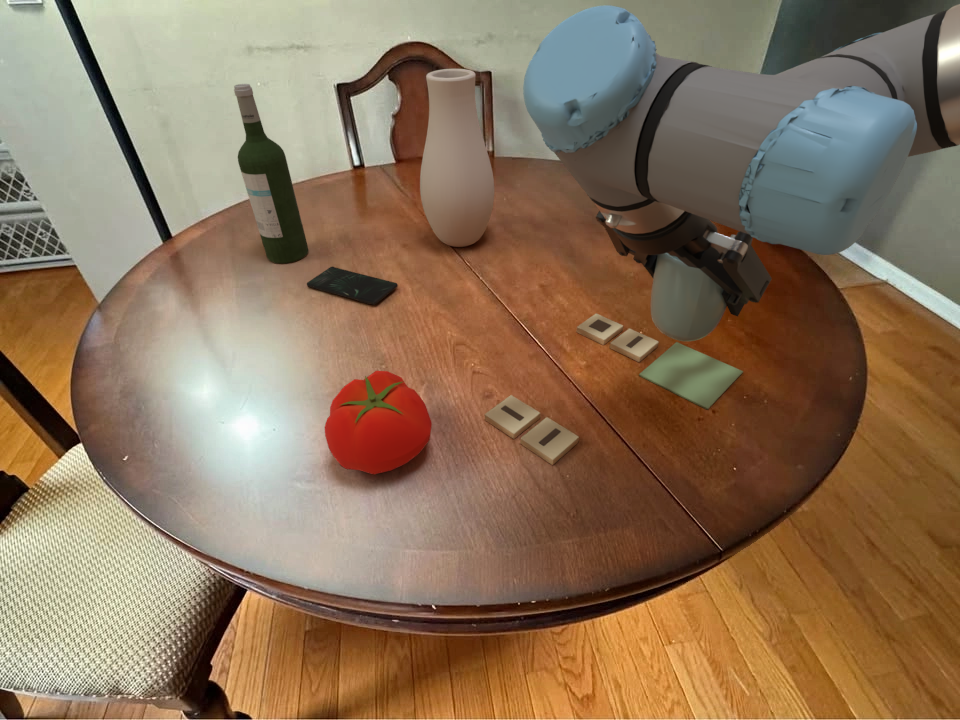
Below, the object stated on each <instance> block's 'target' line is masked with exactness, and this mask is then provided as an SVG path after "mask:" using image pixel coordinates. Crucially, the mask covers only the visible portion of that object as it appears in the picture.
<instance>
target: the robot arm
mask: <svg viewBox="0 0 960 720" xmlns="http://www.w3.org/2000/svg"><path fill="white" fill-rule="evenodd" d="M522 92H523V93H522V94H523V100H524V105H525V108H526V110H527V113H528V115H529V116H530V118H531V119H532V121H533V123H534V124H535V125H536V127H537V128H538V130H539V132H540V133H541V134H540V135H541V137H542V141H543V142H544V145H545V146H546V148H548V149H549V150H550V151H551V152H553V153H554V155H555V156H556V157H557V158H558V159H559V161H560V162H561V163H562V165H563V166H564V167H565V168H566V170H567V171H568V172H569V174H570V175H571V176H572V177H573V179H574V180H575V181H576V183H577V184H578V185H579V186H580V187H581V188H582V190H583V191H584V192H585V194H586V195H587V196H588V197H589V199H590V200H591V201H592V203H593V204H594V205H595V207H596V208H597V209H598V212H597V214H596V216H595V220H596V221H598V223H600V225H602V227H604V230H605V231H606V233H607V235H608V238H609V239H610V240H611V243H612V245H613V246H614V249H615V251H616V253H618V255H620V256H621V257H628V255H629V254H630V255H632V256H633V259H632V260H633V261H635V262H636V264H641V265H642V266H643V267H644V268H645V270H646V272H647V273H648V274H649V276H651V278H652V279H653V277H654V271H655V266H656V260H657V255H658V254H664V253H668V254H669V255H671V256H676V257H677V258H679V259H680V260H681V261H682V262H683V263H685V264H686V265H687V266H689V267H693V268H698V269H700V270H701V271H703V272H704V273H705V274H706V275H707V276H708V277H710V278H711V279H712V280H713V281H714V282H715V283H717V284H718V285H719V286H720V287H721V288H723V289H724V290H723V292H722V297H723V299H724V301H725V303H726V305H727V307H726V308H727V309H728V312H729V314H730V315H732V316H735V317H739V315H740V314H741V312H742V310H743V308H744V306H745V305H747V304H748V303H749V302H751V303H756V304H757V303H760V301H761V299H762V297H763V296H764V293H765V292H766V290H767V288H768V286H769V285H770V283H771V281H772V277H771V275H770V273H769V272H768V270H767V268H766V267H765V265H764V264H763V262H762V260H761V259H760V257H759V256H758V254H757V252H756V251H755V248H754V247H753V246H752V242H753V238H754V239H756V241H757V240H758V241H760V242H762V243H768V244H771V245H782V246H787V247H790V248H793V249H797V250H801V251H804V252H808V253H812V254H816V255H819V256H820V255H821V256H831V255H836V254H839V253H842V252H844V251H845V250H847V249H849V248H850V247H852V246H853V245H854V244H855V243H857V242H858V240H860V239H861V237H862V236H863V234H864V233H865V231H866V229H867V228H868V227H869V224H870V223H871V222H873V220H875V218H876V216H877V215H878V213H879V212H880V211H881V209H882V207H883V206H884V204H885V202H886V200H887V199H888V197H889V195H890V193H892V190H893V188H894V186H895V184H896V182H897V181H898V179H899V176H900V174H901V172H902V170H903V168H904V167H905V164H906V161H907V160H908V158H909V157H914V156H918V155H923V154H928V153H933V152H935V151H940V150H943V149H949V148H954V147H958V146H960V3H958V4H955V5H953V6H952V7H950V8H948V9H945V10H943V11H939V12H937V13H934V14H930V15H927V16H923V17H921V18H918V19H916V20H912V21H909V22H908V23H905V24H902V25H899V26H897V27H894V28H892V29H889V30H886V31H884V32H876V33H872V34H869V35H867V36H864V37H861V38H858V39H856V40H854V41H851V42H848V43H846V44H844V45H842V46H839V47H838V48H835V49H834V50H833V51H831V52H829V53H827V54H824V55H822V56H820V57H816V58H814V59H810V60H808V61H806V62H803V63H801V64H799V65H797V66H794V67H791V68H789V69H786V70H784V71H781V72H779V73H776V74H764V73H758V72H757V73H756V72H749V71H743V70H736V69H730V68H722V67H716V66H711V65H708V64H701V63H698V62H697V61H692V60H686V59H679V58H672V57H667V56H662V55H660V54H659V53H657V45H656V42H655V40H653V39H652V36H651V35H650V34H649V32H647V30H646V28H645V26H644V24H643V23H642V22H641V20H639V19H638V17H637V16H636V15H635V14H634V13H632V12H630V11H628V10H627V9H626V8H624V7H621V6H616V5H611V4H605V5H597V6H596V5H595V6H591V7H588V8H586V9H583V10H581V11H578V12H576V13H574V14H572V15H570V16H568V17H567V18H565V19H563V20H562V21H561V22H560V23H559V24H557V25H556V26H555V27H554V28H552V30H550V32H548V33H547V35H546V36H545V37H544V38H543V39H542V41H541V42H540V43H539V45H538V47H537V49H536V51H535V53H534V54H533V56H532V58H531V60H530V61H529V62H528V66H527V68H526V70H525V74H524V78H523V85H522ZM713 222H714V223H713ZM715 223H717V224H719V225H722V226H725V227H728V228H730V229H733V230H735V231H737V232H736V234H731V235H730V236H727V235H724V234H721V233H719V232H718V228H717V226H716V225H715Z"/></svg>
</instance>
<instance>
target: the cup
mask: <svg viewBox="0 0 960 720" xmlns="http://www.w3.org/2000/svg"><path fill="white" fill-rule="evenodd" d="M723 290H724V289H723V288H721V287H720V286H719V285H718V284H717V283H715V282H714V281H713V280H712V279H711V278H710V277H708V276H707V275H706V274H705V273H704V272H703V271H701V270H700V269H698V268H693V267H689V266H687V265H686V264H685V263H683V262H682V261H681V260H680V259H679V258H677V257H676V256H671V255H669V254H668V253H664V254H658V255H657V260H656V266H655V271H654V277H653V278H652V285H651V292H650V305H649V306H650V307H649V308H650V316H651V317H650V318H651V319H652V322H653V324H654V326H655V327H656V328H657V330H658V331H659V332H660V333H662V335H664V336H666V337H668V338H670V339H673V340H676V341H678V342H679V341H680V342H695V341H699V340H701V339H703V338H705V337H708V336H709V335H710V334H711V333H712V332H713V331H714V330H715V329H716V328H717V327H718V326H719V324H720V322H721V321H722V319H723V317H724V314H725V312H726V310H727V308H728V307H727V305H726V303H725V301H724V299H723V297H722V292H723Z"/></svg>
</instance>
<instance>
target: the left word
mask: <svg viewBox="0 0 960 720" xmlns="http://www.w3.org/2000/svg"><path fill="white" fill-rule="evenodd" d="M483 417H484V421H486V422H487V423H489V424H490V425H492V426H493V427H495V428H496V429H497V430H499V431H500V432H502V433H504V434H505V435H506V436H508V437H509V438H512V439H513V440H515V439H516V438H518V437H519V436H520V435H521V434H523V433H524V432H525V431H526V430H528V429H529V428H530V427H531V426H533V425H534V424H535V423H536V422H538V421H539V420H540V419H541V412H540V411H538V410H537V409H535V408H534V407H532V406H531V405H528V404H527V403H525V402H524V401H522V400H520V399H519V398H517V397H515V396H514V395H513V394H510V395H509V396H507V397H506V398H504V399H503V400H502V401H501V402H499V403H497V404H496V405H495V406H494V407H492V408H491V409H489V410H488V411H486V412H485V413H484V416H483ZM579 441H580V436H579V435H577V434H575V433H574V432H572V431H571V430H569V429H568V428H566V427H564V426H563V425H561V424H559V423H558V422H556V421H555V420H553V419H551V418H550V417H547V416H546V417H545V418H543V419H542V420H541V421H540V422H539V423H538V424H536V425H535V426H534V427H532V428H531V429H530V430H529V431H527V432H526V433H525V434H524V435H522V436H521V437H520V442H519V444H520V445H521V446H523V447H524V448H526V449H528V450H529V451H530V452H532V453H533V454H535V455H537V456H538V457H539V458H540V459H543V460H544V461H545V462H547V463H548V464H549V465H551V466H554V465H555V464H556V463H557V462H558V461H559V460H560V459H561V458H563V457H564V456H565V455H566V454H567V453H568V452H570V451H571V450H572V449H573V448H574V447H575V446H576V445H578V444H579Z"/></svg>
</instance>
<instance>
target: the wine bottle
mask: <svg viewBox="0 0 960 720" xmlns="http://www.w3.org/2000/svg"><path fill="white" fill-rule="evenodd" d="M233 91H234V96H235V97H236V101H237V104H238V108H239V112H240V117H241V120H242V124H243V128H244V133H245V141H244V142H243V144H242V145H241V146H240V149H239V150H238V153H237V163H238V167H239V169H240V173H241V176H242V180H243V183H244V186H245V190H246V192H247V196H248V199H249V203H250V206H251V209H252V212H253V216H254V219H255V223H256V225H257V229H258V232H259V237H260V240H261V242H262V246H263V249H264V252H265V255H266V256H265V257H266V258H267V260H269V262H271V263H274V264H279V265H280V264H281V265H284V264H292V263H296V262H298V261H301V260H302V259H304V258H306V257H307V255H308V253H309V245H308V241H307V237H306V233H305V230H304V226H303V225H304V224H303V222H302V218H301V214H300V213H301V212H300V210H299V205H298V202H297V197H296V193H295V189H294V185H293V181H292V177H291V173H290V169H289V166H288V161H287V157H286V154H285V150H284V149H283V148H282V147H281V146H280V145H279V144H278V143H277V142H276V141H274V140H272V139H270V137H268V136H267V135H266V133H265V130H264V127H263V123H262V120H261V117H260V113H259V111H258V107H257V103H256V101H255V97H254V91H253V87H252V86H251V84H250V83H239V84H235V85H233Z"/></svg>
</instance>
